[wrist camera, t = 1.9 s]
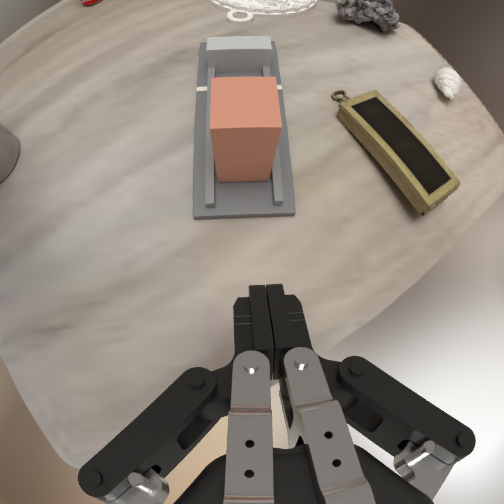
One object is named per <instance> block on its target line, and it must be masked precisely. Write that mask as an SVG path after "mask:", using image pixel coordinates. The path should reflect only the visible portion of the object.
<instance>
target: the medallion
mask: <svg viewBox="0 0 504 504" xmlns="http://www.w3.org/2000/svg"><path fill="white" fill-rule="evenodd" d="M208 1H209V2H210V3H211V4H212V5H214V6H215V7H216V8H219V9H221V10H223V11H226V12H228V14H227V21H228V22H229V23H230V24H233V25H237V26H243V25H247V24H250V23H251V22H252V20H253V18H274V19H275V18H288V17H294V16H298V15H302V14H304V13H307V12H309V11H310V10H312V9H313V8H314V7H315V6H316V4H317V0H208ZM237 15H240V16H246V18H243V19H237V18H234V16H237Z"/></svg>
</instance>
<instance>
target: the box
mask: <svg viewBox="0 0 504 504" xmlns="http://www.w3.org/2000/svg"><path fill="white" fill-rule="evenodd" d="M338 94H344V97H343V98H339V97H336V96H335V95H338ZM331 97H332V99H334V100H339V102H340V103H339V105H338V107H339V111H338V115H337V118H338V119H339V120H340V121H341V122H342V123H343V124H344V125H345V126H346V127H347V128H348V130H349V131H350V132H351V133H352V134H353V135H354V136H355V137H356V138H357V139H358V140H359V141H360V142H361V143H362V144H363V146H364V147H365V148H366V149H367V150H368V151H369V152H370V153H371V155H372V156H373V157H374V158H375V159H376V160H377V161H378V163H379V164H380V165H381V166H382V167H383V169H384V170H385V171H386V172H387V174H388V175H389V176H390V177H391V179H392V180H393V181H394V182H395V184H396V185H397V186H398V187H399V189H400V190H401V191H402V192H403V193H404V195H405V196H406V198H407V199H408V200H409V201H410V203H411V204H412V205H413V206H414V208H415V209H416V210H417V212H418V213H419V214H421V215H422V216H425V215H426V214H427V213H429V212H430V211H431V210H433V209H434V208H435V207H436V206H438V205H439V204H440V203H442V202H443V201H444V200H445V199H446V198H447V197H448V196H449V195H451V194H452V193H453V192H454V191H455V190H457V189H458V187H459V185H460V181H459V180H458V178H457V177H456V176H455V175H454V173H453V172H452V171H451V170H450V168H449V167H448V166H447V165H446V164H445V162H444V161H443V160H442V159H441V158H440V156H439V155H438V154H437V153H436V152H435V150H434V149H433V148H432V147H431V146H430V144H429V143H428V142H427V141H426V140H425V139H424V138H423V137H422V136H421V134H420V133H419V132H418V131H417V130H416V129H415V128H414V127H413V126H412V125H411V124H410V123H409V122H408V121H407V120H406V119H405V118H404V116H403V115H402V114H401V113H400V112H399V111H398V110H396V109H395V108H394V107H393V106H392V105H391V104H390V103H389V102H388V101H387V100H386V99H385V98H384V97H383V96H382V95H381V94H380V93H378V92H377V91H376V90H374V91H371V92H368V93H365V94H362V95H359V96H357V97H354V98H351V99H350V98H349V97H348V96H346V91H344V90H338V91H335V92H333V93H332V96H331Z"/></svg>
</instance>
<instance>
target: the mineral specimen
mask: <svg viewBox="0 0 504 504" xmlns="http://www.w3.org/2000/svg"><path fill="white" fill-rule="evenodd" d="M335 7H338V8H337V9H338V10H339V16H341V17H343V20H350V21H351V20H353V21H354V22H355V23H357V24H361V22H365V21H371V20H373V21H374V22H375V23H376V24H378V25H380V28H381V30H382V31H383V33H384V34H387V33H389V30H390V28H391V29H398V28H399V27H400V25H399V24H397V23H398V22H399V21H398V20H399V15H398V14H397V13H395V9H393V2H392V1H390V0H338V2H337V3H336V5H335Z"/></svg>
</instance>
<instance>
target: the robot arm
mask: <svg viewBox="0 0 504 504" xmlns="http://www.w3.org/2000/svg"><path fill="white" fill-rule="evenodd" d="M19 152H20V143H19V140H18V139H17V138H16V137H15V136H14V135H13V134H12V133H11V132H10V131H8V130H7V129H6V128H5V127H4V126H3V125H2V124H0V182H2V181H3V180H4V179H5V178H6V177H7V176H8V175H9V174H10V172H11V171H12V169H13V168H14V166H15V164H16V162H17V159H18V156H19ZM233 310H234V342H235V354H234V357H233V359H232V361H231V362H230V363H229V364H228V365H227V366H225V367H223V368H221V369H217V370H214V371H209V370H208V369H205V368H202V367H194V368H191V369H188V370H186V371H185V372H184V373H183V374H182V375H181V376H180V377H179V378H178V379H177V380H176V381H174V382H173V383H172V384H171V385H170V386H169V387H168V388H167V389H166V390H165V391H164V392H163V393H162V394H161V395H160V396H159V397H158V398H157V399H156V400H155V401H154V402H153V403H151V404H150V405H149V406H148V407H147V408H146V409H145V410H144V411H143V412H142V413H141V414H140V415H139V416H138V417H137V418H135V419H134V420H133V421H132V422H131V423H130V424H129V425H128V426H127V427H126V428H125V429H124V430H122V431H121V432H120V433H119V434H118V435H117V436H116V437H115V438H114V439H113V440H112V441H110V442H109V443H108V444H107V445H106V446H105V447H104V448H103V449H102V450H100V451H99V452H98V453H97V454H96V455H95V456H94V457H93V458H91V459H90V460H89V461H88V462H87V463H86V464H85V465H83V466H82V468H81V469H80V471H79V474H78V481H79V485H80V486H81V488H82V490H83V491H84V492H85V493H86V494H88V495H90V496H93V497H95V498H97V499H99V500H101V501H103V502H105V503H106V504H163V503H164V501H165V500H166V498H167V497H168V495H169V486H168V483H167V481H166V480H165V479H164V478H165V477H166V476H167V475H168V474H169V473H170V472H171V471H172V470H173V469H174V468H175V467H176V466H177V465H178V464H179V463H180V462H181V461H182V460H183V459H184V458H185V457H186V455H187V454H188V453H189V452H190V451H191V450H192V449H193V448H194V447H195V446H196V445H197V444H198V443H199V442H200V441H201V439H202V438H203V437H204V436H205V435H206V434H207V433H208V432H209V431H210V430H211V429H212V427H213V426H214V425H215V424H216V423H217V422H218V421H219V419H220V418H221V417H224V416H227V415H229V418H228V435H227V453H226V454H225V455H223V456H221V457H219V458H217V459H215V460H214V461H212V462H211V463H210V464H209V465H207V466H206V467H205V469H204V470H203V471H202V472H201V473H200V475H199V476H198V477H197V478H196V479H195V480H194V481H193V483H192V484H191V485H190V486H189V487H188V488H187V489H186V490H185V491H184V493H183V494H182V495H181V496H180V497H179V498H178V499H177V500H176V501H175V503H173V504H434V503H433V501H432V500H433V498H434V497H435V495H436V493H437V492H438V490H439V489H440V487H441V485H442V484H443V482H444V481H445V479H446V477H447V476H448V474H449V472H450V471H451V469H452V467H453V465H454V464H455V463H456V462H458V461H460V460H461V459H463V458H464V457H466V456H467V455H469V454H470V453H471V452H472V451H473V449H474V447H475V442H476V440H475V435H474V433H473V431H472V430H471V429H470V428H469V427H467V426H466V425H464V424H462V423H461V422H459V421H458V420H456V419H455V418H453V417H451V416H450V415H448V414H447V413H445V412H444V411H442V410H441V409H439V408H438V407H436V406H435V405H433V404H432V403H430V402H429V401H427V400H426V399H424V398H423V397H421V396H420V395H418V394H417V393H415V392H413V391H412V390H411V389H409V388H407V387H406V386H405V385H403V384H402V383H400V382H398V381H397V380H395V379H394V378H393V377H391V376H389V375H388V374H387V373H385V372H384V371H382V370H381V369H379V368H378V367H376V366H375V365H373V364H372V363H370V362H369V361H367V360H366V359H364V358H362V357H359V356H351V357H347V358H345V359H344V360H343V361H342V362H337V361H331V360H326V359H324V358H322V357H320V356H318V355H317V354H316V353H315V352H314V350H313V348H312V346H311V341H310V337H309V333H308V329H307V325H306V321H305V317H304V313H303V309H302V305H301V302H300V301H299V300H298V298H297V297H296V296H295V295H285V294H284V289H283V285H282V284H269V285H266V288H265V285H250V286H249V297H240V298H237V300H236V302H235V304H234V306H233ZM272 375H273V380H276V379H279V384H280V391H279V396H280V400H281V405H282V409H283V414H284V418H285V422H286V427H287V431H288V444H289V449H280V448H273V441H272V411H271V397H270V380H272ZM347 423H348V424H349V425H350V426H352V427H353V428H354V429H356V430H357V431H358V432H360V433H361V434H362V435H364V436H365V437H367V438H368V439H369V440H371V441H372V442H374V443H375V444H376V445H378V446H379V447H381V448H382V449H384V450H385V451H386V452H388V453H389V454H391V455H392V456H394V467H395V470H396V471H397V472H398V473H399V474H400V475H401V476H402V477H400V476H399V475H398V474H396V473H395V472H394V471H392V470H391V469H390V468H388V467H387V466H385V465H384V464H383V463H382V462H380V461H379V460H377V459H376V458H375V457H374V456H372V455H371V454H370V453H368V452H367V451H366V450H364V449H363V448H361V447H359V446H357V445H355V444H353V442H352V438H351V435H350V432H349V429H348V426H347Z"/></svg>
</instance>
